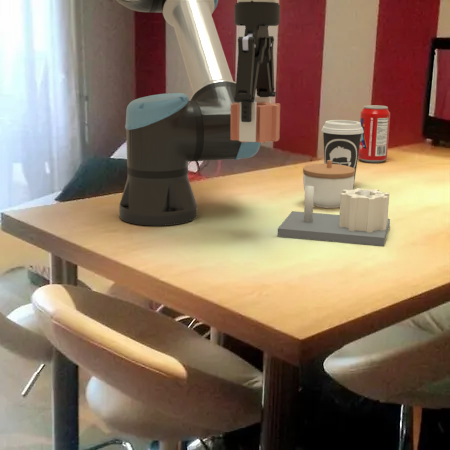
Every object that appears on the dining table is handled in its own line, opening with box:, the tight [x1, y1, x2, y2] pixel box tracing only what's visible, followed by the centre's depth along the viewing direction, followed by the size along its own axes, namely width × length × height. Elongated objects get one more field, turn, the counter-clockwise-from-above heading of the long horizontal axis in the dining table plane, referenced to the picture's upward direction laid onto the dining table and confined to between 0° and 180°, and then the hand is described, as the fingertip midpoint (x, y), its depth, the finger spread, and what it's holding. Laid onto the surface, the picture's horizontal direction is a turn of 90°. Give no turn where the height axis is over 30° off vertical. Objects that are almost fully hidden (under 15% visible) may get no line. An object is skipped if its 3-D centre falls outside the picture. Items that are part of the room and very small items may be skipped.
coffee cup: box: [320, 119, 364, 189], centre depth 169 cm, size 10×10×15 cm
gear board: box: [276, 186, 391, 247], centre depth 134 cm, size 19×13×8 cm
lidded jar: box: [302, 160, 356, 209], centre depth 153 cm, size 11×11×9 cm
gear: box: [230, 102, 281, 144], centre depth 127 cm, size 8×8×6 cm
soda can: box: [358, 104, 391, 164], centre depth 202 cm, size 8×8×15 cm
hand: (255, 137), depth 128 cm, fingers closed on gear, 9 cm apart
